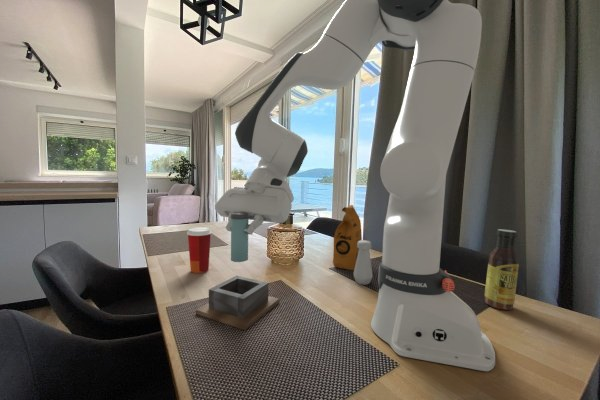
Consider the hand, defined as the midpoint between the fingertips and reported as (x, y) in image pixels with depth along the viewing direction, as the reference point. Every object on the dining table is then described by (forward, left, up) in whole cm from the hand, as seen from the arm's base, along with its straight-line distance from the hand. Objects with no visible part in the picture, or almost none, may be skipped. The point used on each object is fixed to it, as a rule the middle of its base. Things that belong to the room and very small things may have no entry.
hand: (238, 231), depth 62 cm
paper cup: (+28, -15, -19) cm, 37 cm away
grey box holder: (0, -1, -19) cm, 19 cm away
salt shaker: (-23, -32, -19) cm, 44 cm away
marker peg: (0, -1, -7) cm, 7 cm away
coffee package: (-14, -46, -19) cm, 51 cm away
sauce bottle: (-58, -34, -19) cm, 70 cm away
